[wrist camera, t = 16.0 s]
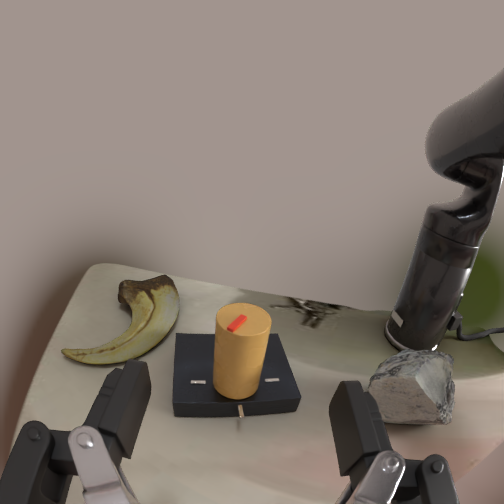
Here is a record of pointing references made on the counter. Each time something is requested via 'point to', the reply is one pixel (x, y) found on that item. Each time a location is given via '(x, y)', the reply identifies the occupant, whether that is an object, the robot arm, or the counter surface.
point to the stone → (415, 387)
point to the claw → (137, 321)
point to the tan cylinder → (240, 349)
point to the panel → (210, 400)
